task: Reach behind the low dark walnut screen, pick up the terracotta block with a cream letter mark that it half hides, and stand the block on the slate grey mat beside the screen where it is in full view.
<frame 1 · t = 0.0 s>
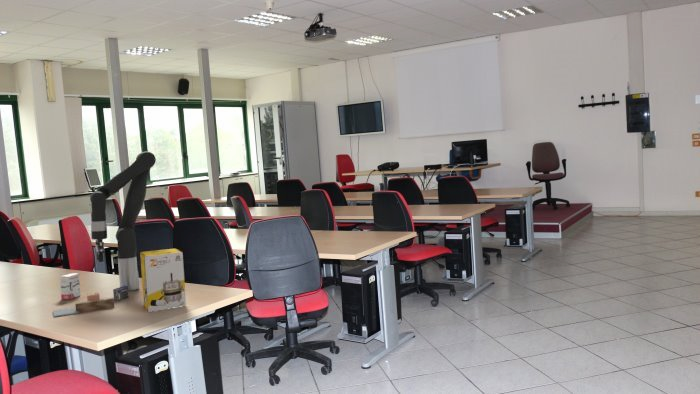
hand: (100, 260, 291), 17 cm above the table, fingers open, 8 cm apart
terracotta block: (93, 306, 263), on the table
walnut screen: (95, 309, 257), on the table
ink box: (71, 298, 285), on the table
slate mat: (65, 312, 254), on the table
mini dv tape: (121, 299, 275), on the table
packaging box: (164, 306, 258), on the table
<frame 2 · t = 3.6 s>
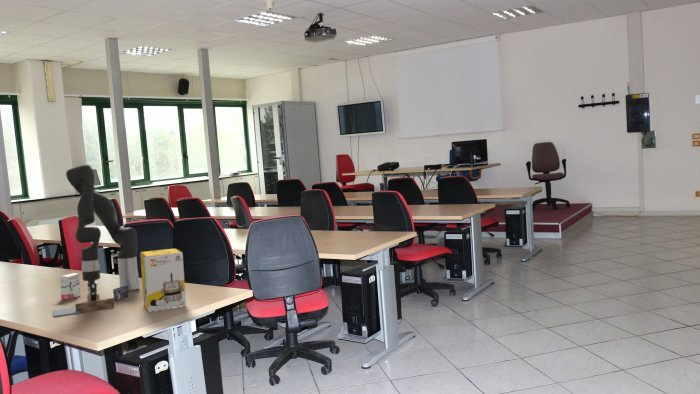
hand: (93, 303, 263), 1 cm above the table, fingers open, 8 cm apart
nothing on the table moved.
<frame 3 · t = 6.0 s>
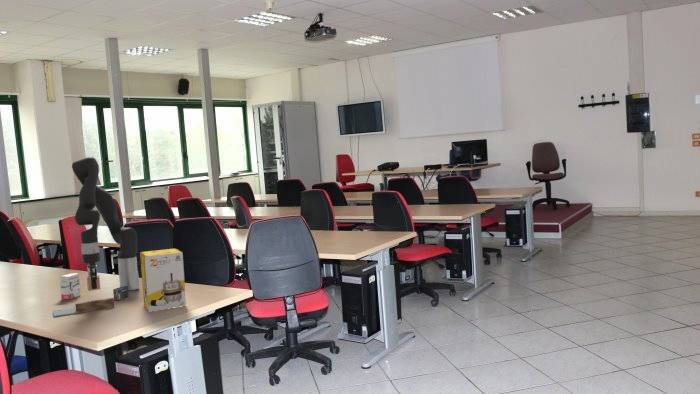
hand: (93, 287, 263), 9 cm above the table, fingers closed on terracotta block, 5 cm apart
terracotta block: (93, 289, 263), point 8 cm above the table, touching gripper
everything else where it was.
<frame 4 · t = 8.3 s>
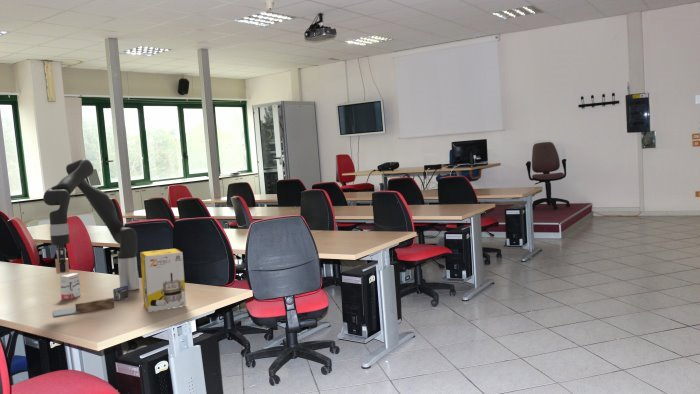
hand: (62, 270, 253), 19 cm above the table, fingers closed on terracotta block, 5 cm apart
terracotta block: (62, 272, 253), point 18 cm above the table, touching gripper
everything else where it was.
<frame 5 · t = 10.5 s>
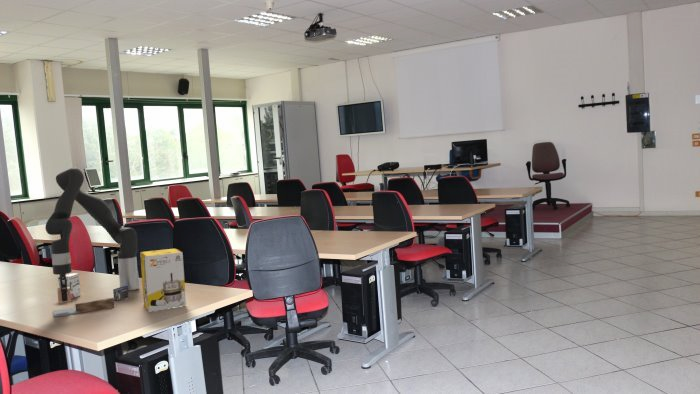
hand: (64, 299, 253), 6 cm above the table, fingers closed on terracotta block, 5 cm apart
terracotta block: (64, 301, 253), point 5 cm above the table, touching gripper
everything else where it was.
when the fingers open (2 cm above the table, at t = 12.2 s): terracotta block drops 1 cm, resting on slate mat.
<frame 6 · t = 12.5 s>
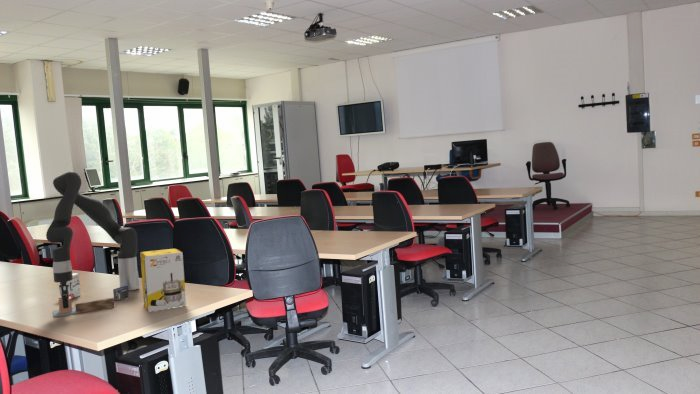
hand: (65, 306, 253), 3 cm above the table, fingers open, 7 cm apart
terracotta block: (65, 311, 253), point 1 cm above the table, touching slate mat
everything else where it was.
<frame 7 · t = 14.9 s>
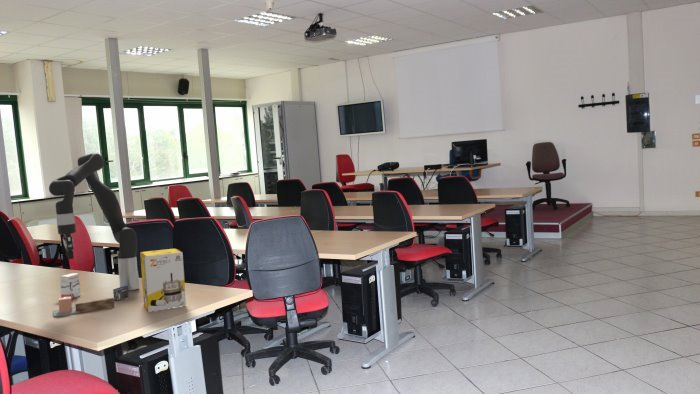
hand: (70, 257, 259), 24 cm above the table, fingers open, 8 cm apart
nothing on the table moved.
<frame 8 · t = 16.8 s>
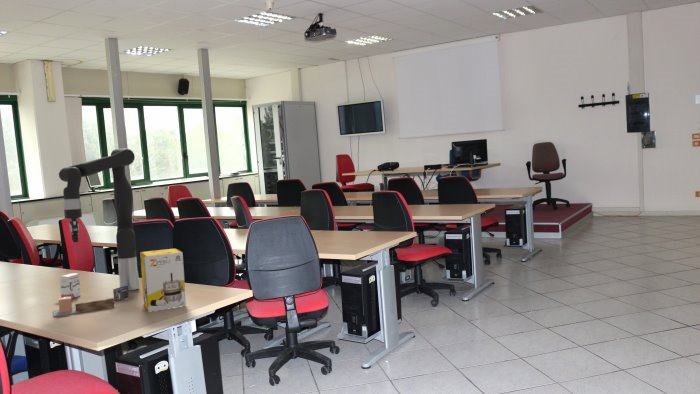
hand: (75, 241, 272), 30 cm above the table, fingers open, 8 cm apart
nothing on the table moved.
at the end: terracotta block inside the target area on the slate mat (0.0 cm from its centre), point 0.6 cm above the slate mat's base; terracotta block tilted 0°; the gripper is holding nothing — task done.
